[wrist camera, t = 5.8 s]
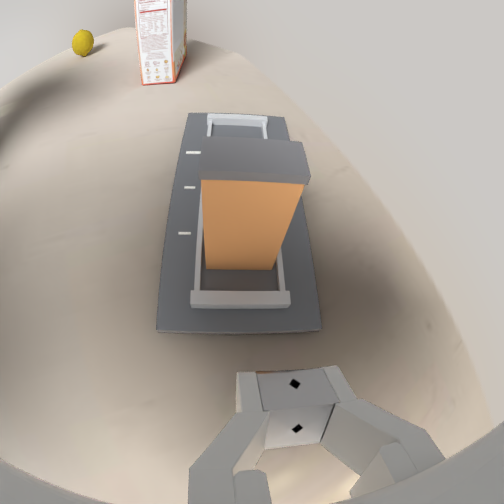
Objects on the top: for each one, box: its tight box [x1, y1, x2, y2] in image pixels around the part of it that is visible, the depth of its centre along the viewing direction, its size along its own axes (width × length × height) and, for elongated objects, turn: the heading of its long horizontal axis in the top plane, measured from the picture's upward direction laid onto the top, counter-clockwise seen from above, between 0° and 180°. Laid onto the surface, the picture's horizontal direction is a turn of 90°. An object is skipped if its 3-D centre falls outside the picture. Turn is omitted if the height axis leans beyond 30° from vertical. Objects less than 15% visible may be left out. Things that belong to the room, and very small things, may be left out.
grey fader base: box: [156, 113, 322, 334], centre depth 25 cm, size 26×12×2 cm, turn 2°
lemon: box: [72, 30, 94, 56], centre depth 41 cm, size 6×6×8 cm
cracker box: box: [134, 0, 187, 85], centre depth 30 cm, size 14×6×21 cm, turn 3°
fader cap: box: [198, 136, 311, 270], centre depth 17 cm, size 3×5×10 cm, turn 92°
